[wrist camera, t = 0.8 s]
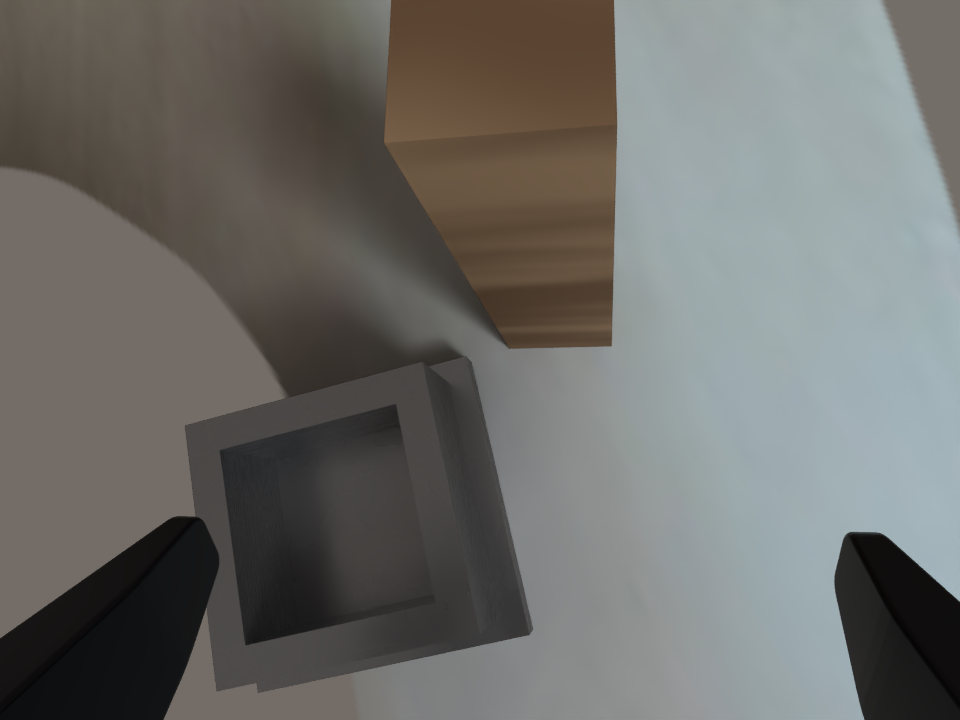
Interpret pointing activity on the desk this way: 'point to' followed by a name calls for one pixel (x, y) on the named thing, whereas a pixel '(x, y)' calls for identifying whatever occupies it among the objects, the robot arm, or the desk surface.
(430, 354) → the desk surface
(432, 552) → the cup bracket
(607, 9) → the block
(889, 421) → the desk surface
